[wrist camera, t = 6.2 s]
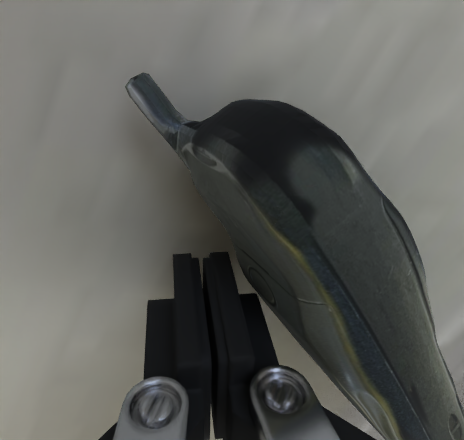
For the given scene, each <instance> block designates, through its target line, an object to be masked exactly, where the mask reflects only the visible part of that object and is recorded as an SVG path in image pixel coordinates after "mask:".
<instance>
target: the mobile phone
mask: <svg viewBox="0 0 464 440" xmlns="http://www.w3.org/2000/svg"><path fill="white" fill-rule="evenodd" d="M125 88H126V90H127V92H128V94H129V96H130V98H131V99H132V100H133V101H134V103H135V104H136V105H137V106H138V108H139V109H140V110H141V111H142V113H143V114H144V115H145V116H146V117H147V119H148V120H149V121H150V122H151V123H152V125H153V126H154V127H155V128H156V129H157V130H158V132H159V133H160V134H161V135H162V136H163V137H164V138H165V140H166V141H167V142H168V143H169V144H170V146H171V147H172V148H173V149H174V151H175V152H176V153H177V154H178V156H179V157H180V158H181V160H182V161H183V162H184V164H185V165H186V166H187V168H188V169H189V170H190V172H191V176H192V180H193V183H194V185H195V187H196V189H197V190H198V192H199V194H200V195H201V197H202V198H203V199H204V201H205V202H206V203H207V205H208V206H209V207H210V209H211V210H212V211H213V213H214V214H215V215H216V216H217V218H218V219H219V220H220V221H221V223H222V224H223V226H224V227H225V229H226V230H227V232H228V234H229V236H230V238H231V241H232V243H233V246H234V249H235V252H236V255H237V259H238V262H239V264H240V267H241V269H242V271H243V273H244V275H245V277H246V279H247V280H248V282H249V283H250V284H251V286H252V287H253V288H254V289H255V291H256V292H257V293H258V294H259V295H260V297H261V298H262V299H263V300H264V302H265V303H266V304H267V305H268V306H269V308H270V309H271V310H272V311H273V312H274V314H275V315H276V316H277V317H278V318H279V320H280V321H281V322H282V323H283V324H284V326H285V327H286V328H287V329H288V331H289V332H290V333H291V334H292V335H293V337H294V338H295V339H296V340H297V341H298V342H299V344H300V345H301V346H302V347H303V348H304V349H305V350H306V352H307V353H308V354H309V355H310V356H311V357H312V358H313V360H314V361H315V362H316V363H317V364H318V365H319V366H320V368H321V369H322V370H323V371H324V372H325V373H326V375H327V376H328V377H329V378H330V379H331V380H332V382H333V383H334V384H335V385H336V386H337V387H338V388H339V390H340V391H341V392H342V393H343V394H344V395H345V396H346V398H347V399H348V400H349V401H350V402H351V403H352V404H353V405H354V406H355V407H356V408H357V410H358V411H359V412H360V413H361V414H362V415H363V416H364V417H365V418H366V419H367V420H368V422H369V423H370V424H371V425H372V426H373V427H374V428H375V429H376V430H377V431H378V432H379V433H380V434H381V435H382V436H383V438H384V439H385V440H464V409H463V407H462V405H461V403H460V401H459V398H458V396H457V392H456V389H455V385H454V382H453V380H452V377H451V375H450V372H449V370H448V368H447V366H446V363H445V361H444V359H443V356H442V354H441V352H440V349H439V347H438V344H437V340H436V336H435V326H434V321H433V316H432V312H431V308H430V304H429V299H428V294H427V287H426V276H425V271H424V267H423V263H422V260H421V257H420V254H419V252H418V249H417V246H416V244H415V241H414V239H413V237H412V234H411V232H410V230H409V228H408V226H407V224H406V222H405V220H404V219H403V217H402V216H401V214H400V213H399V212H398V210H397V209H396V208H395V207H394V205H393V204H392V203H391V202H390V200H389V199H388V198H387V197H386V196H385V195H384V194H383V193H382V192H381V191H380V189H379V188H378V187H377V186H376V184H375V183H374V182H373V181H372V179H371V178H370V177H369V175H368V174H367V173H366V171H365V170H364V168H363V167H362V165H361V164H360V163H359V161H358V160H357V158H356V156H355V155H354V154H353V152H352V151H351V150H350V148H349V147H348V146H347V145H346V143H345V142H344V141H343V140H342V138H341V137H340V136H339V135H337V134H336V133H335V132H334V131H332V130H331V129H329V128H328V127H327V126H325V125H324V124H322V123H321V122H319V121H318V120H317V119H315V118H313V117H312V116H310V115H309V114H307V113H306V112H304V111H303V110H300V109H298V108H296V107H294V106H291V105H289V104H287V103H284V102H280V101H272V100H252V99H245V100H238V101H234V102H231V103H230V104H228V105H227V106H225V107H224V108H222V109H221V110H220V111H219V112H217V113H216V114H215V115H213V116H212V117H210V118H208V119H206V120H204V121H202V122H196V121H190V120H187V119H186V118H184V117H183V116H182V115H181V114H180V113H179V112H178V111H176V110H175V108H174V107H173V105H172V104H171V103H170V101H169V100H168V99H167V97H166V96H165V95H164V93H163V92H162V91H161V89H160V88H159V87H158V86H157V84H156V83H155V82H154V80H153V79H152V78H151V77H150V75H149V74H146V73H141V74H139V75H137V76H135V77H133V78H131V79H130V81H129V82H128V83H127V85H126V86H125Z"/></svg>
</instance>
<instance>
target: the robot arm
mask: <svg viewBox="0 0 464 440" xmlns="http://www.w3.org/2000/svg"><path fill="white" fill-rule="evenodd" d="M173 270H174V299H159V300H148V305H147V324H146V343H145V361H144V380H142V381H141V382H139V383H138V384H136V385H135V386H133V388H132V389H131V390H130V391H129V392H128V393H127V395H126V397H125V399H124V402H123V404H122V408H121V411H120V415H119V419H118V422H117V423H116V424H114V425H113V426H112V427H111V428H110V429H109V430H108V431H107V432H106V433H105V434H104V435H103V436H102V437H101V438H100V439H99V440H210V409H212V418H213V426H214V435H215V439H221V438H223V440H376V439H374V438H373V437H371V436H369V435H368V434H366V433H365V432H363V431H361V430H360V429H358V428H357V427H355V426H353V425H352V424H350V423H348V422H347V421H345V420H344V419H342V418H340V417H339V416H337V415H335V414H334V413H332V412H331V411H329V410H327V409H326V408H324V407H323V406H321V404H320V402H319V400H318V399H317V397H316V395H315V393H314V391H313V390H312V388H311V386H310V384H309V383H308V381H307V380H306V379H305V377H304V376H303V375H302V374H300V373H299V372H298V371H296V370H294V369H292V368H290V367H288V366H282V365H279V363H278V359H277V356H276V353H275V350H274V347H273V343H272V340H271V337H270V334H269V331H268V327H267V324H266V321H265V318H264V315H263V311H262V308H261V305H260V302H259V298H258V296H257V294H256V293H250V294H239V293H238V289H237V285H236V281H235V277H234V273H233V269H232V265H231V261H230V257H229V253H228V252H211V253H210V255H209V257H207V258H203V289H202V281H201V274H200V266H199V259H198V258H192V257H191V253H189V254H173Z"/></svg>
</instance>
